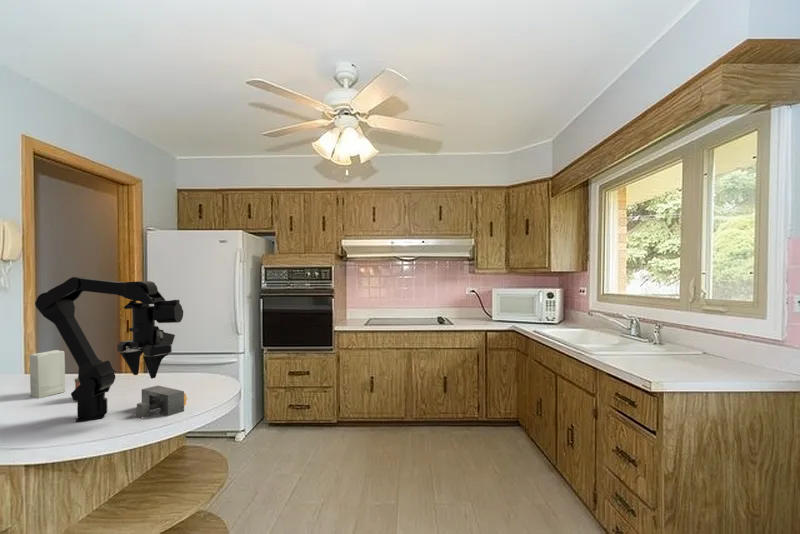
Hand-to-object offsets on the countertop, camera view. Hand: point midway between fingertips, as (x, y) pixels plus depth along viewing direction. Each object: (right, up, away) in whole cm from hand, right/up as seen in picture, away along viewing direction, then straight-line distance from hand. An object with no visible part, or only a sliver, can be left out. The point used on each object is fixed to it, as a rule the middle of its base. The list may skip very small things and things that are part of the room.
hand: (144, 376), depth 124 cm
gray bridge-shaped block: (+3, -11, +5) cm, 13 cm away
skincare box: (-48, -13, +24) cm, 55 cm away
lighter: (-30, -12, +18) cm, 37 cm away
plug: (+3, -12, +5) cm, 13 cm away
